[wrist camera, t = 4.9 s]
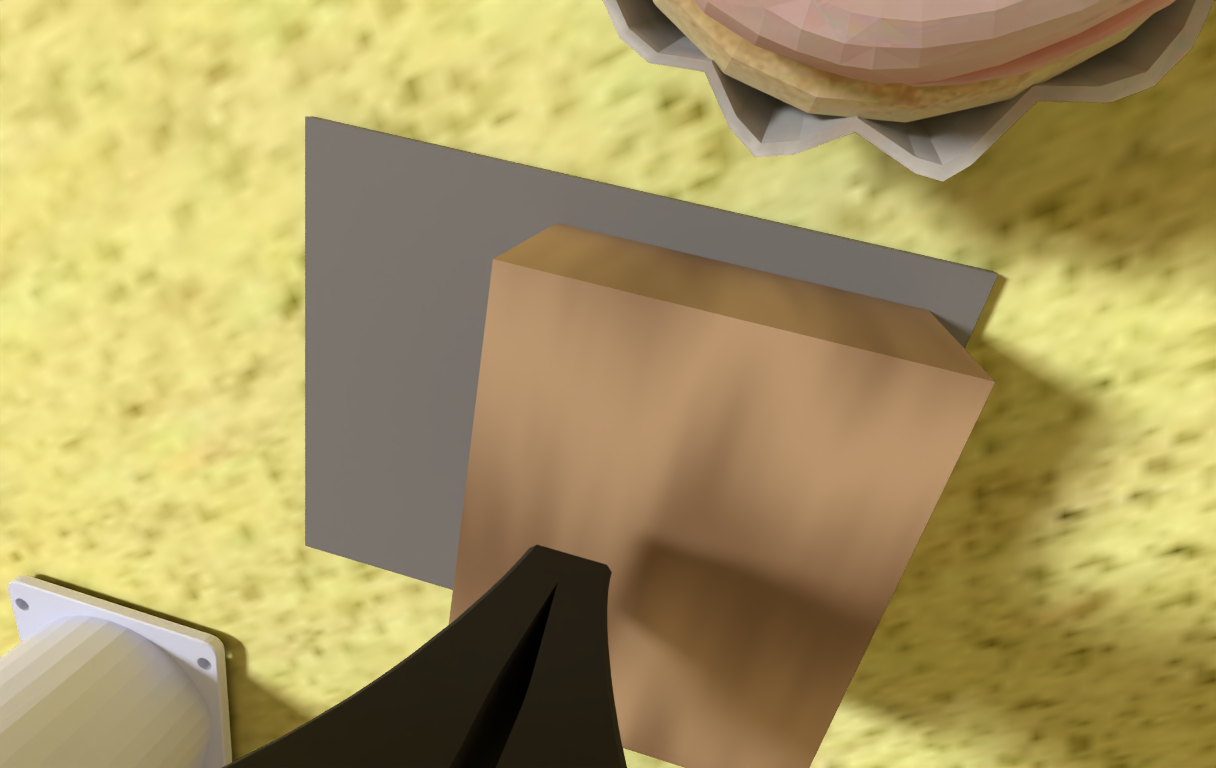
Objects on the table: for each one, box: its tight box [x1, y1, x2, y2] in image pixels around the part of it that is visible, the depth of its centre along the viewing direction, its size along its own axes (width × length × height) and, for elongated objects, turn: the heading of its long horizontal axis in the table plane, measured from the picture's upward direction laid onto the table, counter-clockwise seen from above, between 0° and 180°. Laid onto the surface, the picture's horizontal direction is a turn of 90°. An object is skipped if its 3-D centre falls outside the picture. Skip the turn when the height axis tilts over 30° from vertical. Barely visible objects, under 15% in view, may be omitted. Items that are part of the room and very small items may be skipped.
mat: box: [305, 117, 998, 590], centre depth 16 cm, size 12×15×1 cm
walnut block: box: [449, 223, 995, 768], centre depth 14 cm, size 10×4×8 cm
